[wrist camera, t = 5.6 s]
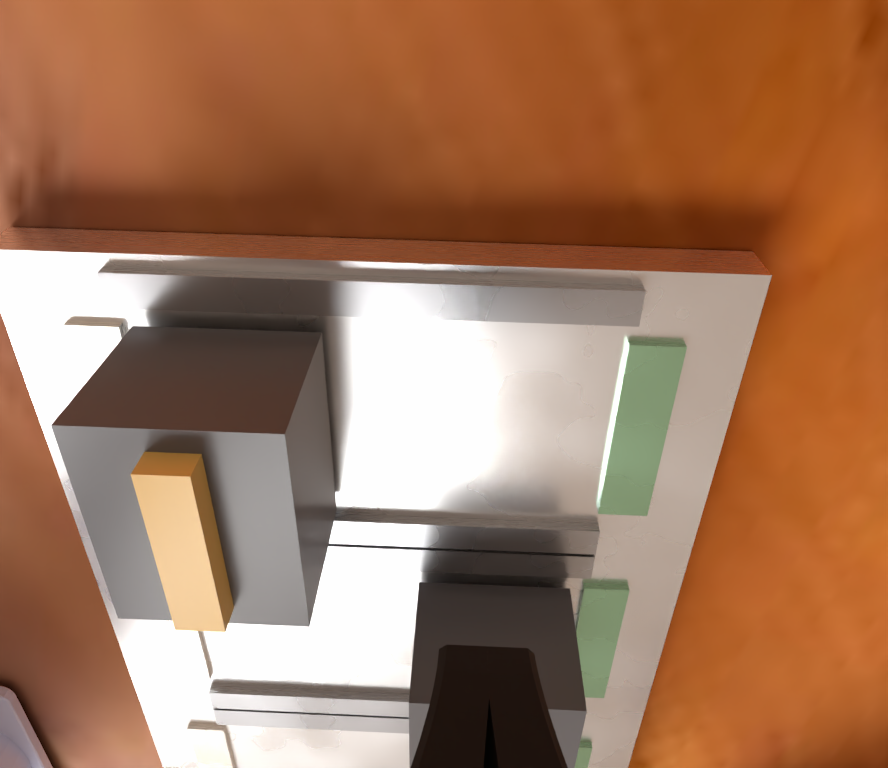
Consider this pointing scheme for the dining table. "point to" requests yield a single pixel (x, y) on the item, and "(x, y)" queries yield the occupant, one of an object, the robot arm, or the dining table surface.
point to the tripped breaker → (206, 474)
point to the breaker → (501, 625)
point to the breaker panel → (422, 456)
